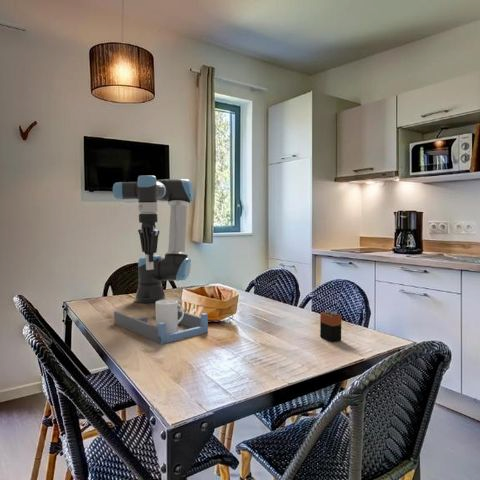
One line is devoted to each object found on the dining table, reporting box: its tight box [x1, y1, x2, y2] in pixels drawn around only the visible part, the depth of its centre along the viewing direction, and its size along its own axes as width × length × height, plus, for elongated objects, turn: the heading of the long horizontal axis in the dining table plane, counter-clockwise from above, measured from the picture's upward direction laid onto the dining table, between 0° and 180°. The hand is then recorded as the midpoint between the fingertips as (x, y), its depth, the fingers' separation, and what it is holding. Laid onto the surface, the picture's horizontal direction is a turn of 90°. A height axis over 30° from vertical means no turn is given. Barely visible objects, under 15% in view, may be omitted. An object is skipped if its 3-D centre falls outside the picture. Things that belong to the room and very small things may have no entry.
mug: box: [155, 299, 185, 334], centre depth 148 cm, size 12×8×12 cm
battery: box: [319, 309, 342, 343], centre depth 139 cm, size 4×7×10 cm, turn 27°
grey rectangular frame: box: [113, 303, 201, 344], centre depth 155 cm, size 20×34×5 cm, turn 43°
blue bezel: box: [157, 312, 209, 345], centre depth 142 cm, size 20×2×7 cm, turn 133°
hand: (149, 269), depth 165 cm, fingers closed
